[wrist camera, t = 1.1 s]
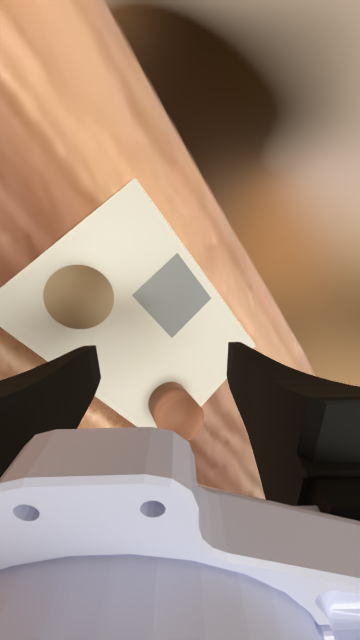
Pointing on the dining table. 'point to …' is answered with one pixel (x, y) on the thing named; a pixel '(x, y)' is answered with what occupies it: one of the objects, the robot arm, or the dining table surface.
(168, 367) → the baseplate
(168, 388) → the rust drum
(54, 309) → the maple drum
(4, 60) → the dining table surface
